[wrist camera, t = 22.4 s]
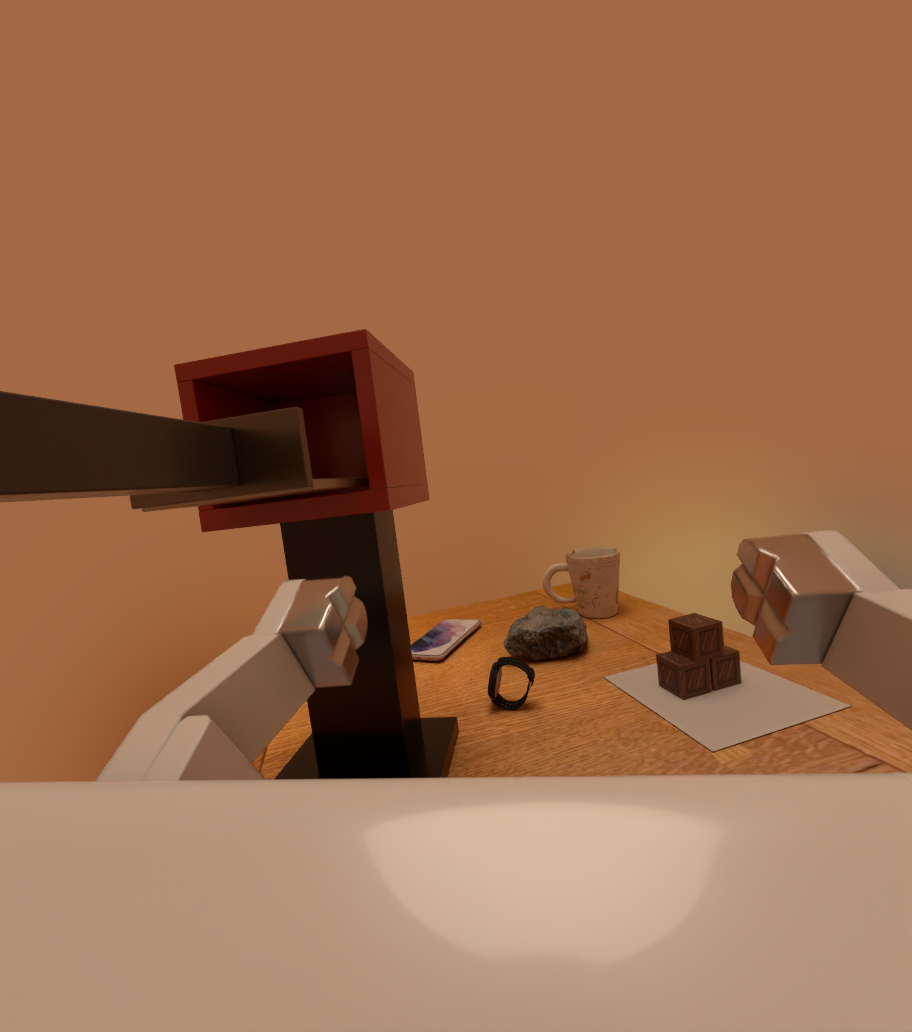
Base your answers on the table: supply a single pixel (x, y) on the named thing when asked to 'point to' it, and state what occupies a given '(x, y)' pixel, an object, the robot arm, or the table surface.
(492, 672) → the smartwatch
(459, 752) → the table surface
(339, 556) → the stand
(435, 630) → the smartphone
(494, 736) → the table surface
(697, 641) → the stack of crates
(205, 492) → the brown piece
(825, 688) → the table surface
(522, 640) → the rock
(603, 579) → the mug
